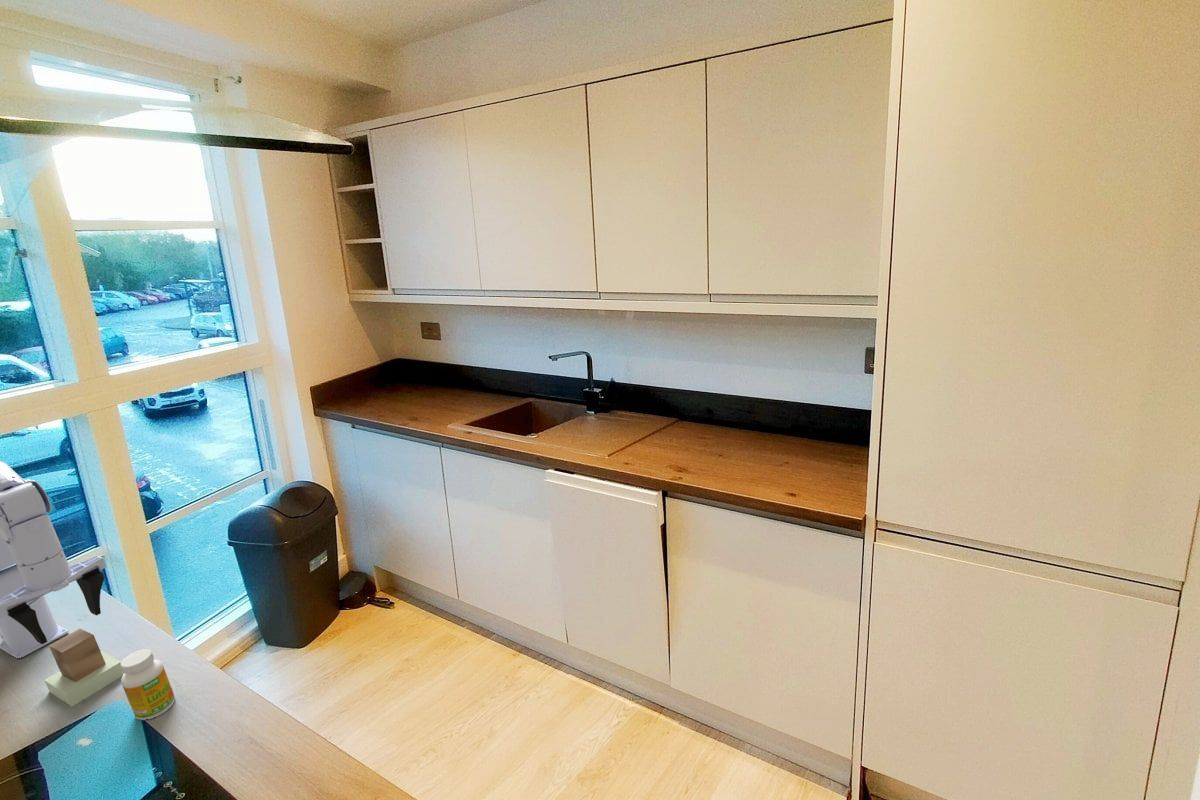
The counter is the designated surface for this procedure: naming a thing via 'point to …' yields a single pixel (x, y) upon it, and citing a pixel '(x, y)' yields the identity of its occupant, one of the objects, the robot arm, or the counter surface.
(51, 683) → the sage block
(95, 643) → the walnut block
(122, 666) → the supplement bottle
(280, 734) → the counter surface
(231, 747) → the counter surface
